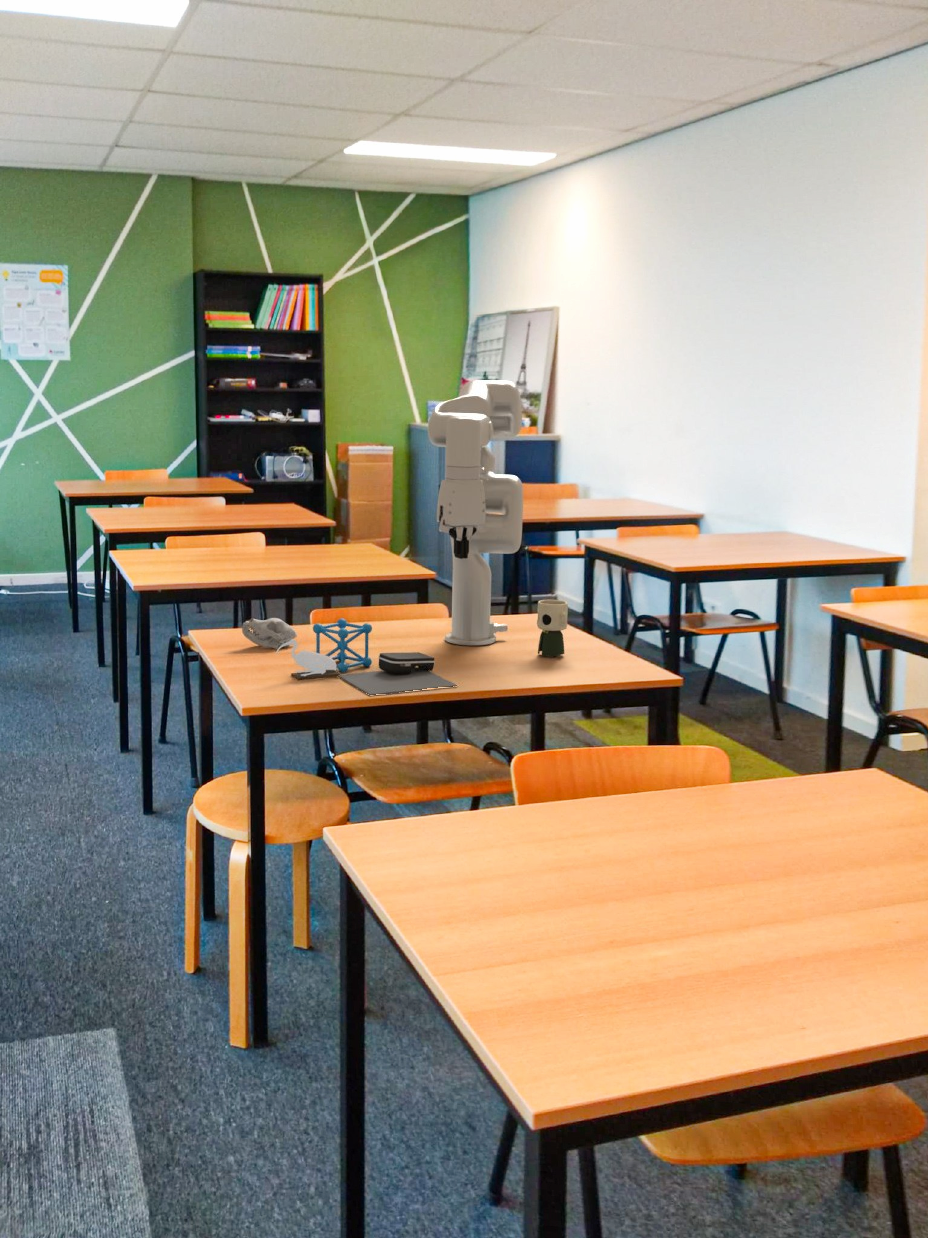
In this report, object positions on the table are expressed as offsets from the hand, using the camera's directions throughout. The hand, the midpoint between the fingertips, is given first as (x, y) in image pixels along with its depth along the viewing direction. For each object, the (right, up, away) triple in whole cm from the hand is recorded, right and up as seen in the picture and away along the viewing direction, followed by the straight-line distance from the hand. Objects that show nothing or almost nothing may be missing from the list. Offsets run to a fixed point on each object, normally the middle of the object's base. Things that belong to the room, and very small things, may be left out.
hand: (461, 557), depth 275 cm
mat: (-14, -27, -6) cm, 31 cm away
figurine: (-33, -26, -4) cm, 43 cm away
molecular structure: (-27, -24, +6) cm, 37 cm away
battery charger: (-7, -23, +4) cm, 25 cm away
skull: (-46, -20, +25) cm, 56 cm away
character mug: (+21, -22, +21) cm, 38 cm away
